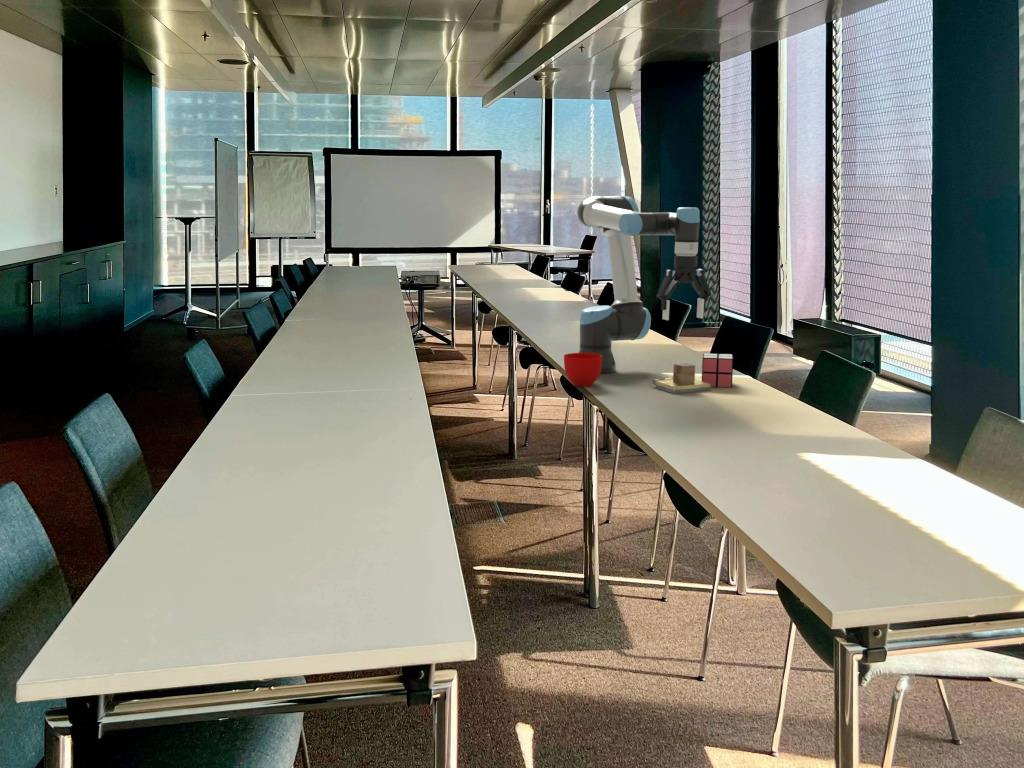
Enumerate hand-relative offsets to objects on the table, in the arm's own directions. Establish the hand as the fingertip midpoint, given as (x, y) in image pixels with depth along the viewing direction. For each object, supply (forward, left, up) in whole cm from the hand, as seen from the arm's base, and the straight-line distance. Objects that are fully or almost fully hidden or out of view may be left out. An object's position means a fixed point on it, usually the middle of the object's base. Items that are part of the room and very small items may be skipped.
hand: (682, 318), depth 321 cm
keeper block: (+7, -4, -20) cm, 22 cm away
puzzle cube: (+5, +11, -23) cm, 26 cm away
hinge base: (+5, -4, -23) cm, 23 cm away
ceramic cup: (-15, -29, -23) cm, 40 cm away
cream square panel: (+5, -4, -22) cm, 23 cm away
